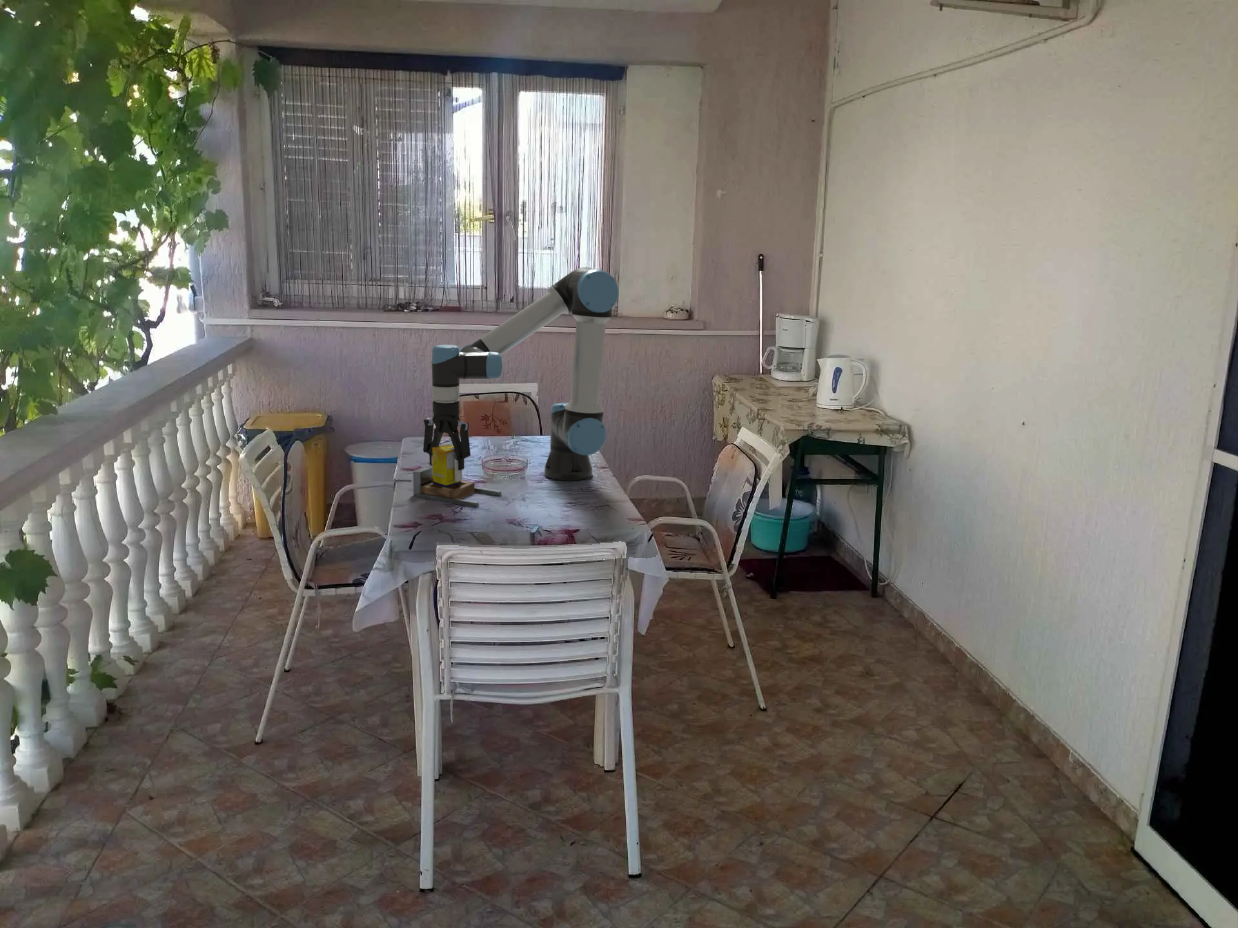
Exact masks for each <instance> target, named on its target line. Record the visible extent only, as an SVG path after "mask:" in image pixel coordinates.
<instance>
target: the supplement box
mask: <svg viewBox="0 0 1238 928" xmlns="http://www.w3.org/2000/svg"><path fill="white" fill-rule="evenodd" d="M432 457H433V484H435V485H438V486H442V487H445V488H447V487H450V486H454V485H458V484H461V481H462V480H460V481H458V482H455V459H456V458H457V456H456V453H455V450H454V447H453V444H452V445H451V444H443V445H439V446H437V447H432Z"/></svg>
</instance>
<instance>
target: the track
mask: <svg viewBox="0 0 1238 928" xmlns="http://www.w3.org/2000/svg"><path fill="white" fill-rule="evenodd" d="M412 475H413V477H412V479H413V480H412V481H413V482H412V483H413V485H412V486H413V495H414V496H416V498H418V499H425V500H431V501H437V502H442V503H448V504H453V505H455V504H456V505H461V506H467V507H473V508H478V507H479V506H480V503H479V501H474V500H468V499H463V498H462V499H455V498H449V497H443V496H437V495H431V494H425V493H421V486H423V485H426V484H428V483H431V482H433V478H432V466H430V464H428V465H427V466H423V467H420V468H418V469H415V470H413V471H412ZM474 493H477V494H485V495H490V496H497V497H500V496H502V491H501V490H495V489H491V488H483V487H475V492H474Z"/></svg>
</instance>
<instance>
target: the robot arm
mask: <svg viewBox="0 0 1238 928" xmlns="http://www.w3.org/2000/svg"><path fill="white" fill-rule="evenodd" d="M618 286H619V285H618V283H617V281H616V280H615V278H614V277H613V275H611V274H610V273H609V272H608V271H607V272H606V271H605V270H603V269H601V268H600V269H599V268H591V267H586V266H585V267H583V266H582V267H578V268H576V269H573V270H572V271H570V272H569V273H567V274H566V275H564V276H563V277H562V278H561V279H560V280H558V281H557V282H555V283H554V284H552V285H551V286H550V287H548V288H549V289H548V292H546V293H545V294H543V295H542V296H541V297H539V298H538V299H536V300H535V301H533V302H532V303H531V304H529V305H527V306H525V308H523V309H522V310H520V311H519V312H517V313H516V314H514V315H513V316H511V317H510V318H508V319H507V320H506V321H504V322H502V323H501V324H500V325H498V326H496V327H495V328H493V329H492V330H490V331H489V332H487V333H486V334H485V335H483V336H482V337H480V338H479V339H477V340H476V341H474V342H472V343H471V344H466V345H463V346H462V347H461V348H459V346H458V345H455V344H439V345H438V344H437V345H435V346H433V347H432V350H431V351H432V352H431V361H430V362H431V375H432V376H431V377H432V378H431V381H432V382H431V383H432V385H431V387H432V388H431V389H432V390H431V391H432V392H431V393H432V394H431V397H432V400H433V401H432V414H433V416H432V417H428V418H427V417H426V418H425V419H423V423H424V433H423V434H424V437H423V438H424V439H423V449H422V451H423V453H426V454H428V455H429V465H430V466H432V478H433V457H432V447H437V446H440V444H441V440H442V438H443V435H444V433H445V434H448V437H449V439H450V440H451V443H452V445H453V447H454V450H455V453H456V456H457V458H456V459H455V482H458V481H460V480H461V481H463V470H464V469H465V459H466V458H469V457H471V447H470V438H469V437H470V436H469V427H470V423H469V422H463V421H461V419H460V411H461V410H460V409H461V407H460V405H461V404H460V401H459V399H460V380H487V379H488V380H491V379H492V380H493V379H498V378H501V376H502V373H503V360H502V355H503V354H505V353H507V352H508V351H509V350H511V349H513V348H514V347H516V345H519V344H520V343H521V342H523V341H524V340H526V339H527V338H528V337H530V336H531V335H533V334H535V333H537V331H539V330H540V329H542V328H543V327H545V326H547V325H548V324H550V323H551V322H552V321H554V320H555V319H557V318H558V317H560V316H561V315H563V314H565V315H569V314H570V313H571V316H572V317H573V318H574V319H575V321H576V322H575V323H576V324H575V332H574V333H575V334H574V335H575V336H574V348H573V362H572V372H571V373H572V375H571V388H570V401H569V402H557V403H553V404H552V405H551V408H550V413H549V416H550V440H549V441H550V448H549V449H550V451H549V453H548V456H547V459H546V462H545V465H544V476H545V477H547V478H549V479H553V480H557V481H581V480H587V479H590V478H591V477H592V476H593V467H592V463H591V459H590V457H589V456H590V455H593V454H596V453H597V452H598V451H600V450H601V449H602V448H603V447H604V445H605V443H606V440H607V435H608V434H607V429H606V426H605V425H604V411H605V410H604V408H603V407H602V406H601V404H600V398H601V384H602V383H601V382H602V373H603V362H604V350H605V349H604V347H605V337H606V325H607V322H609V321H610V320H611V319H612V314H613V307H614V306H615V304H616V303H617V301H618V298H619V287H618ZM434 425H435V429H434ZM458 427H459V428H458Z"/></svg>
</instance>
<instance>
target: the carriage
mask: <svg viewBox="0 0 1238 928" xmlns="http://www.w3.org/2000/svg"><path fill="white" fill-rule="evenodd" d="M421 493H425V494H431V495H437V496H443V497H449V498H455V499H462V500H463V498H466V497H468V496H470V495H472V494H474V493H476V492H475V482H474V481H473V482H472V481H467V480H466V481H465V480H461V484H458V485H454V486H450V487H447V488H445V487H442V486H438V485H435V484H433V482H431V483H428V484H426V485H423V486H421Z"/></svg>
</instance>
